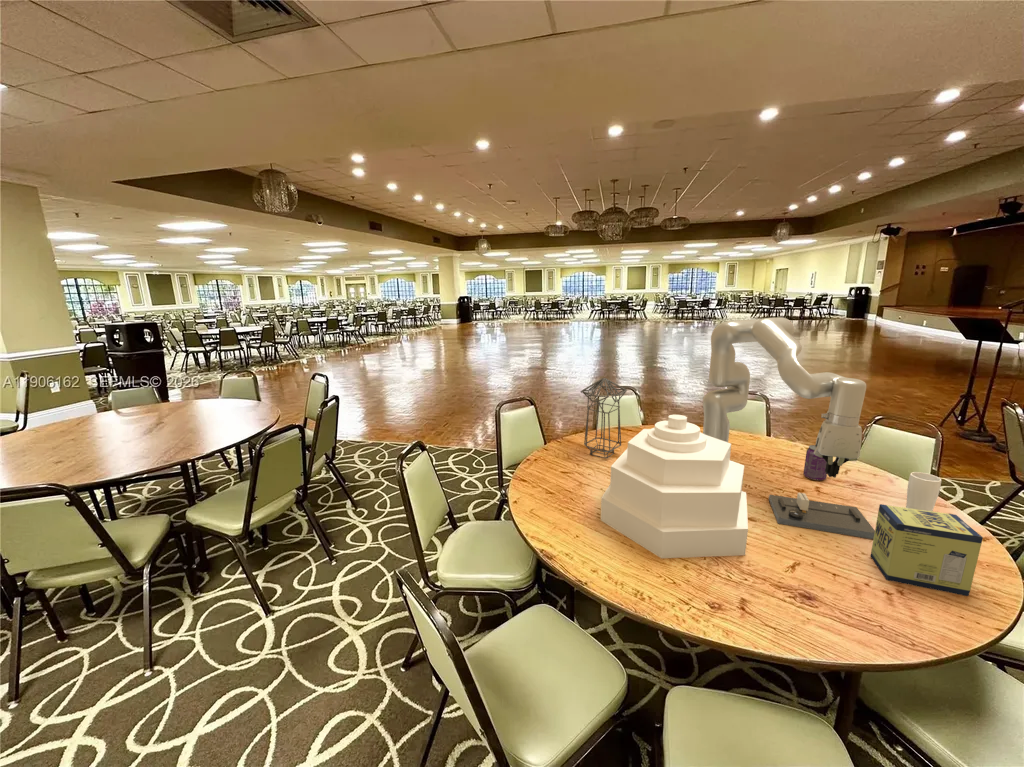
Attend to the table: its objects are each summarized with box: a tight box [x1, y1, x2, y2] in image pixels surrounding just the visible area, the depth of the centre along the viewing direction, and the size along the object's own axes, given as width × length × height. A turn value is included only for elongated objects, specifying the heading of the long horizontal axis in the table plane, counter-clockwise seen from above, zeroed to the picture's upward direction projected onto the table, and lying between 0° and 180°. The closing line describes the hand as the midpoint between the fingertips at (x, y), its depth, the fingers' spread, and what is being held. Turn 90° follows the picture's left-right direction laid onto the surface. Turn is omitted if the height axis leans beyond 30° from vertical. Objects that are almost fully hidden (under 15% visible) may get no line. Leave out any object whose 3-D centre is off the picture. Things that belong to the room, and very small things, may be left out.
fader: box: [796, 492, 810, 511], centre depth 131 cm, size 2×5×4 cm, turn 157°
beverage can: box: [803, 444, 828, 481], centre depth 156 cm, size 7×7×12 cm
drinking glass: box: [905, 471, 942, 512], centre depth 124 cm, size 7×7×15 cm
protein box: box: [870, 503, 984, 597], centre depth 101 cm, size 10×16×16 cm
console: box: [768, 494, 875, 540], centre depth 129 cm, size 24×16×3 cm, turn 67°
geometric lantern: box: [580, 377, 628, 459], centre depth 180 cm, size 16×16×35 cm
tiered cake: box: [600, 414, 749, 559], centre depth 127 cm, size 44×45×34 cm
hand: (830, 475), depth 127 cm, fingers closed
